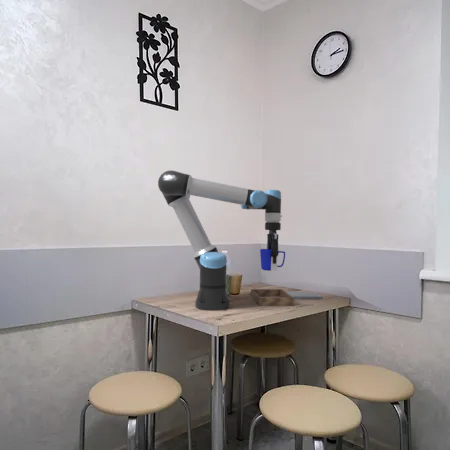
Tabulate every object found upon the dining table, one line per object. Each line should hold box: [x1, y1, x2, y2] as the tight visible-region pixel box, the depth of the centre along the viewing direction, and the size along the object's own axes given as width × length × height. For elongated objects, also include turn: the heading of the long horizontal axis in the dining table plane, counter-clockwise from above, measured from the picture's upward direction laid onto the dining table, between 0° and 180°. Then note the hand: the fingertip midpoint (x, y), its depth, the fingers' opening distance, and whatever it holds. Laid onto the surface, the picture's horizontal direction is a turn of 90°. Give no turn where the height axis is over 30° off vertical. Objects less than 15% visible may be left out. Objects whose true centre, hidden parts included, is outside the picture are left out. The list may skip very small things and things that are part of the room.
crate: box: [250, 288, 295, 307], centre depth 174 cm, size 16×23×4 cm
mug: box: [259, 248, 286, 272], centre depth 174 cm, size 8×12×10 cm
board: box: [285, 291, 323, 300], centre depth 187 cm, size 18×14×1 cm
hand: (272, 269), depth 174 cm, fingers closed on mug, 7 cm apart
